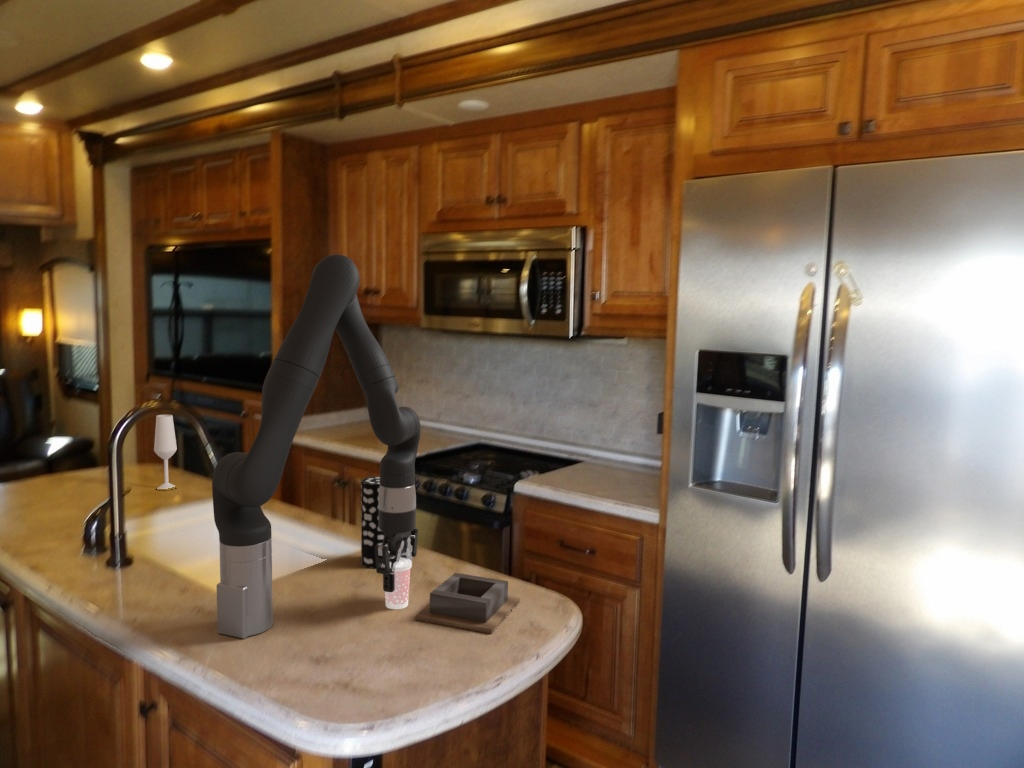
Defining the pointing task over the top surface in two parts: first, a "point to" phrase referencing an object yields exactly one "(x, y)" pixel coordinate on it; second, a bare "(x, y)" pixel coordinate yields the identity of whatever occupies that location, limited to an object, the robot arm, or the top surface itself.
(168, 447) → the champagne flute
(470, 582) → the cup holder
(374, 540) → the white-spotted black cylinder
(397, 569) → the beverage cup
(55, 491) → the top surface
